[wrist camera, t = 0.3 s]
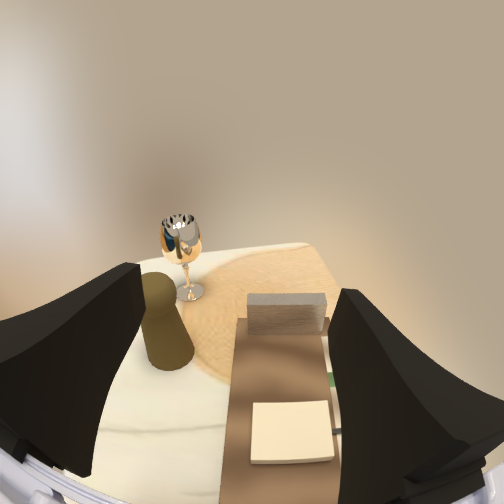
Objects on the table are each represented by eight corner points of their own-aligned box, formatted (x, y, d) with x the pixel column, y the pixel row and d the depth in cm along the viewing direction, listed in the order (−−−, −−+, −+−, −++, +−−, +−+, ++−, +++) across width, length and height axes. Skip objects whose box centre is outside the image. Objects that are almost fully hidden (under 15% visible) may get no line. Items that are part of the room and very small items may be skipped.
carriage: (352, 457, 18) (356, 452, 18) (251, 463, 19) (250, 459, 18) (343, 405, 24) (347, 398, 23) (253, 409, 24) (253, 402, 23)
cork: (198, 336, 34) (184, 264, 29) (189, 373, 29) (167, 301, 24) (155, 332, 35) (133, 263, 29) (141, 367, 29) (110, 297, 24)
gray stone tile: (321, 334, 33) (327, 304, 30) (248, 335, 33) (246, 304, 31) (319, 322, 34) (324, 293, 32) (249, 323, 35) (247, 293, 32)
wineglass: (190, 309, 39) (176, 234, 33) (164, 294, 42) (148, 224, 35) (215, 288, 43) (207, 217, 37) (189, 276, 46) (179, 209, 40)
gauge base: (359, 522, 13) (363, 521, 12) (218, 529, 14) (216, 529, 13) (327, 322, 36) (329, 316, 35) (238, 323, 36) (237, 317, 36)
